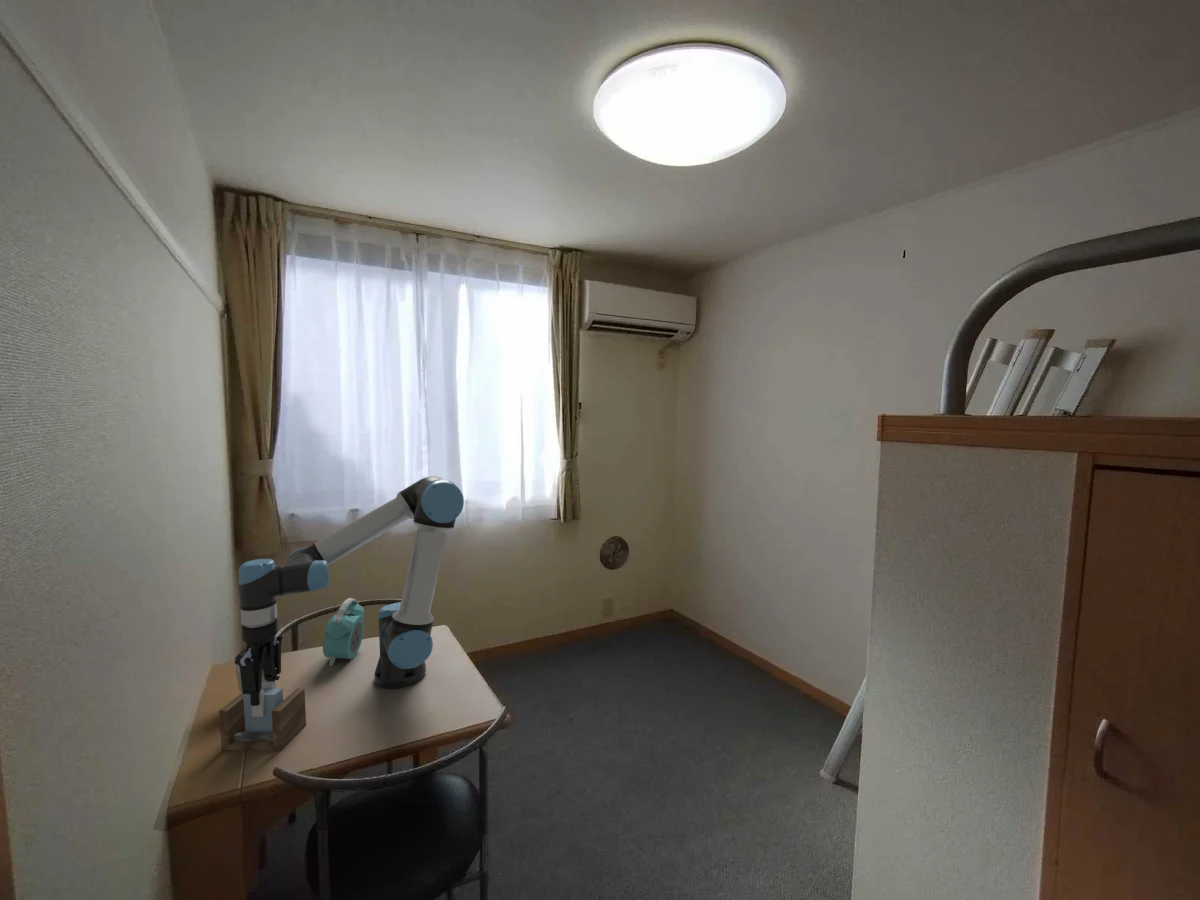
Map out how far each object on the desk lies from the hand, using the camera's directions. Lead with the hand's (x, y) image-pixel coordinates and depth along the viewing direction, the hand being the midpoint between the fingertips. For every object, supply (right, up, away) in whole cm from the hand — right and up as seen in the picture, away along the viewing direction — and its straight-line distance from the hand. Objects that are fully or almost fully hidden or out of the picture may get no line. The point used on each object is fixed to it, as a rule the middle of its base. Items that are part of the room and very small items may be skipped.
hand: (264, 710), depth 127 cm
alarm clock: (-1, -4, +42) cm, 43 cm away
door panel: (0, -6, 0) cm, 6 cm away
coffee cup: (-14, -6, +18) cm, 23 cm away
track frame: (0, -7, +1) cm, 7 cm away
